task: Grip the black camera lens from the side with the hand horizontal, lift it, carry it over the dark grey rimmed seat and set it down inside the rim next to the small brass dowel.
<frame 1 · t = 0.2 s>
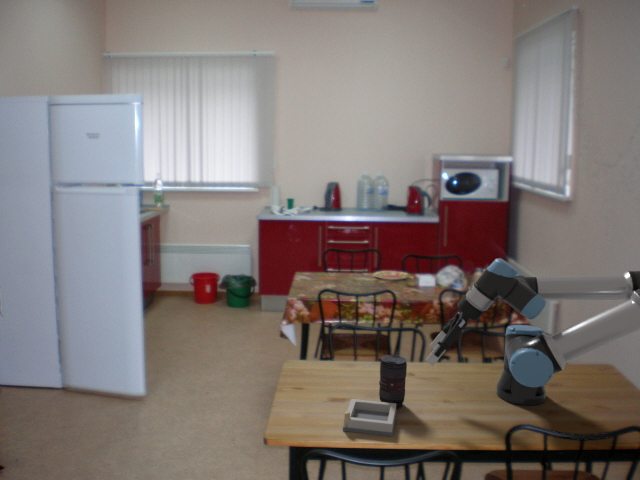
hand: (430, 355, 184), 16 cm above the table, tool tilted 35°, fingers open, 13 cm apart
camera lens: (391, 405, 185), on the table
seat: (370, 422, 174), on the table
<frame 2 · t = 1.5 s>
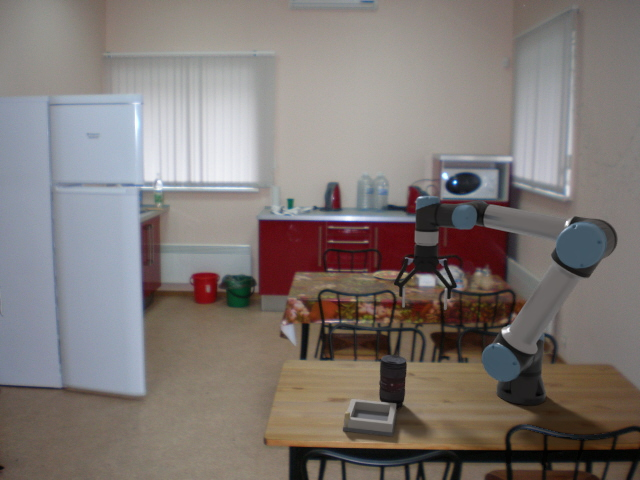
hand: (424, 307, 197), 27 cm above the table, tool pointing down, fingers open, 13 cm apart
nothing on the table moved.
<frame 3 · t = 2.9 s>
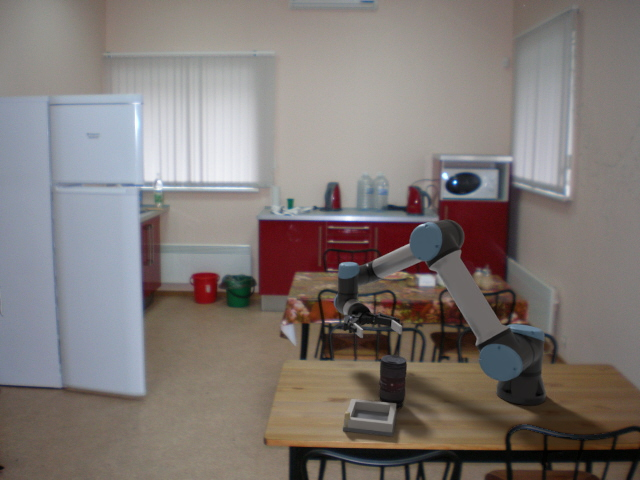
hand: (381, 332, 191), 20 cm above the table, tool horizontal, fingers open, 13 cm apart
nothing on the table moved.
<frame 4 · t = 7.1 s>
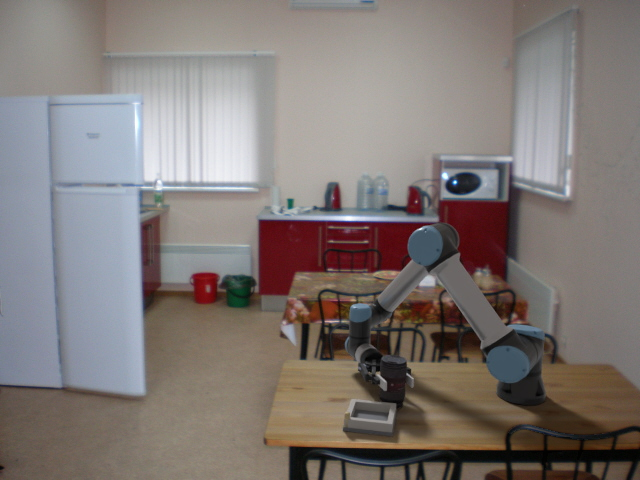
hand: (399, 384, 179), 9 cm above the table, tool horizontal, fingers closed on camera lens, 8 cm apart
camera lens: (391, 405, 185), on the table, touching gripper
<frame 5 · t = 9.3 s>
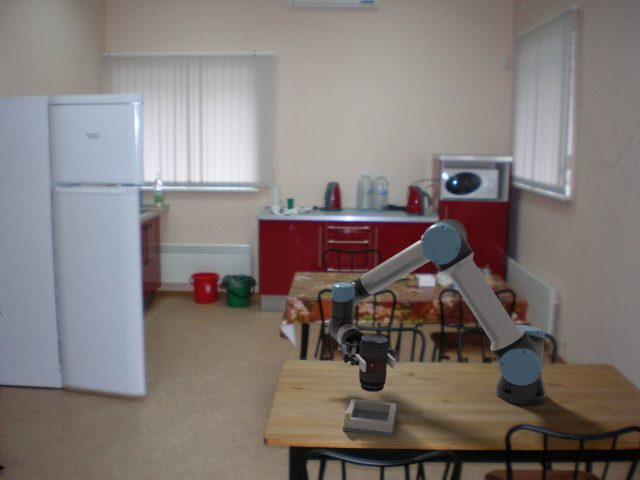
hand: (379, 365, 169), 18 cm above the table, tool horizontal, fingers closed on camera lens, 8 cm apart
camera lens: (372, 388, 175), point 9 cm above the table, touching gripper
when the fingers open (11 cm above the table, at t = 11.6 s): camera lens drops 1 cm, resting on seat.
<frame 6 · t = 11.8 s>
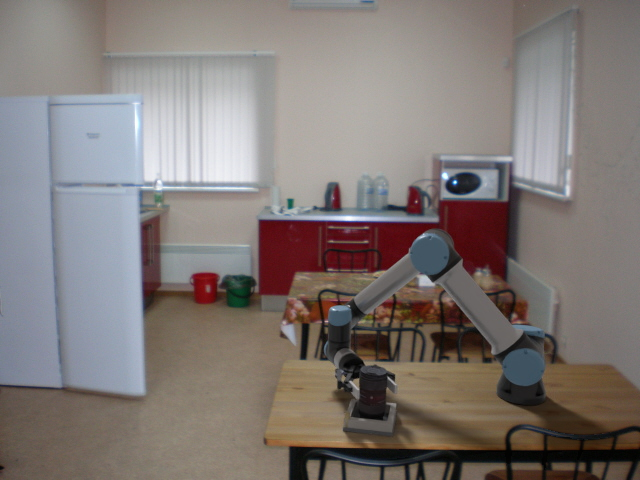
hand: (377, 392, 168), 11 cm above the table, tool horizontal, fingers open, 11 cm apart
camera lens: (371, 419, 174), point 1 cm above the table, touching seat
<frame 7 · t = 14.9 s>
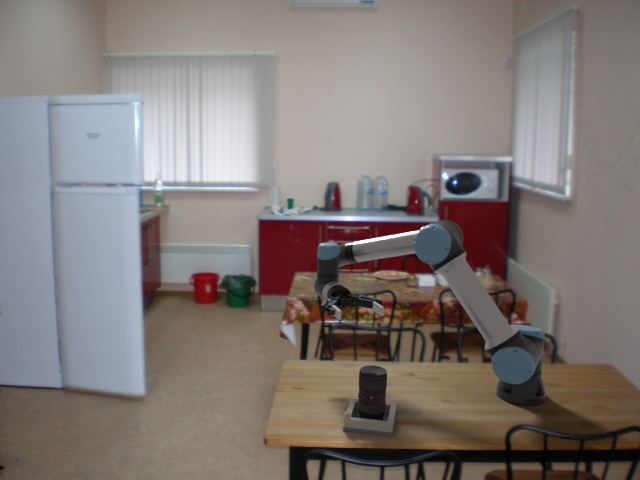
hand: (361, 313, 178), 30 cm above the table, tool horizontal, fingers open, 13 cm apart
nothing on the table moved.
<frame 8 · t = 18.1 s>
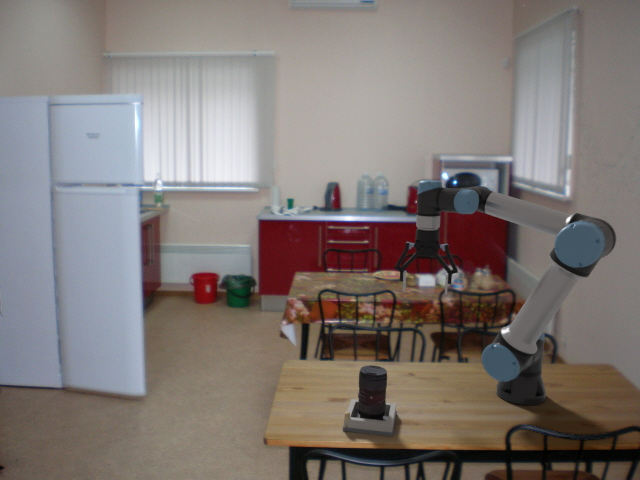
hand: (424, 292, 197), 32 cm above the table, tool pointing down, fingers open, 13 cm apart
nothing on the table moved.
at the end: camera lens 0.4 cm off-centre on the seat, point 0.8 cm above the seat's base; camera lens tilted 0°; the gripper is holding nothing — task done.
